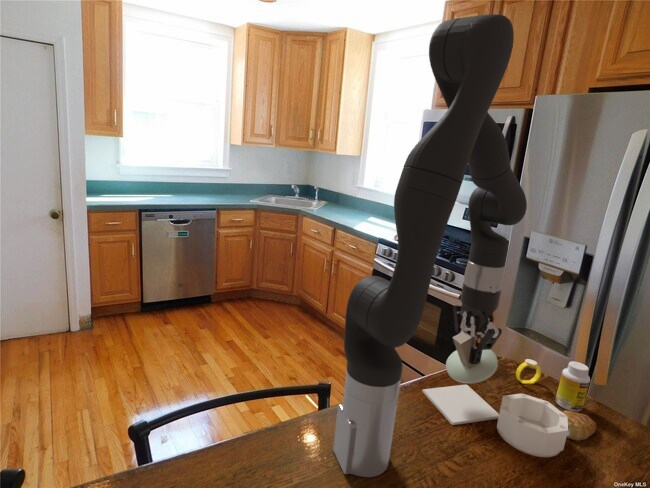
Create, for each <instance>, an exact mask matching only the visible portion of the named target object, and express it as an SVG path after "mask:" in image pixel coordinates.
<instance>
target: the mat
mask: <svg viewBox="0 0 650 488" xmlns="http://www.w3.org/2000/svg"><path fill="white" fill-rule="evenodd" d="M422 393H423V394H424V395H425V396H426V398H427V399H428V400H429V401H430V402H431V404H433V406H434V407H435V408H436V409H437V410H438V411H439V412H440V413H441V414H442V415H443V416H444V417H445V419H446V420H447V422H449V423H450V424H451V426H455V425H463V424H470V423H477V422H483V421H491V420H498V418H499V413H498V412H497V411H496V410H495V409H494V408H493V407H492V406H491V405H490V404H489V403H488V402H486V401H485V400H484V399H483V398H482V397H481V396H480V395H479V394H478V393H477V392H475V391H474V390H473V389H472V388H471V386H469V385H468V384H460V385H459V384H457V385H451V386H443V387H442V386H441V387H432V388H425V389H422Z"/></svg>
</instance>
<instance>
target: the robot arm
mask: <svg viewBox="0 0 650 488" xmlns="http://www.w3.org/2000/svg"><path fill="white" fill-rule="evenodd" d="M514 32H515V31H514V27H513V23H512V22H511V20H510V19H509V17H507V16H506V15H503V14H498V13H497V14H495V13H493V14H490V13H489V14H481V15H473V16H466V17H465V16H464V17H457V18H452V19H448V20H447V19H446V20H443V21H442V22H441V23H439V24H438V25H437V27H435V29H434V31H433V33H431V37H430V40H429V44H428V45H429V46H428V58H429V59H428V60H429V64H430V67H431V72H432V74H433V77H434V80H435V82H436V85H437V86H438V87H437V88H438V89H439V91H440V93H441V96H442V97H443V100H444V102H445V104H446V107H447V110H446V112H445V113H444V114H443V116H442V117H441V118H439V120H438V121H437V122H436V123H435V124H434V125H433V127H431V129H429V130H428V132H426V134H424V136H423V137H422V138H421V139H420V140H418V142H417V143H416V144H415V145H414V147H413V148H412V149H411V150H410V152H409V153H408V154H407V157H406V159H405V163H404V165H403V167H402V171H401V173H400V177H399V179H398V183H397V185H396V189H395V194H394V198H393V199H394V200H393V210H394V222H395V228H396V236H397V255H396V262H395V266H394V269H393V272H392V276H391V280H387V279H386V278H384V277H381V276H377V275H369V276H365V277H364V278H362V279H360V280H359V281H358V282H357V283H356V284H355V286H354V287H353V289H352V290H351V291H350V294H349V296H348V299H347V305H346V309H345V310H346V311H345V323H344V337H343V338H344V343H343V351H344V354H345V359H346V372H345V381H344V389H343V398H342V403H341V404H338V405H337V413H336V421H335V431H334V440H333V449H332V450H333V453H334V456H335V457H336V459H337V461H338V463H339V466H340V467H341V470H342V473H343V474H344V475H349V474H350V475H354V476H357V477H362V478H373V477H377V476H380V475H381V474H383V473H385V471H386V470H387V469H388V466H389V461H390V455H391V448H392V442H393V435H394V427H395V423H396V422H395V421H396V414H397V413H396V412H397V406H398V401H399V395H400V394H399V392H400V388H401V381H402V373H403V360H402V357H401V356H400V354H399V352H398V351H397V350H396V348H400V347H402V346H404V345H406V343H408V342H409V341H410V339H412V337H413V336H414V334H415V333H416V331H417V329H418V327H419V325H420V322H421V320H422V317H423V314H424V310H425V305H426V302H427V299H428V298H427V297H428V293H429V288H430V284H431V280H432V276H433V272H434V268H435V264H436V261H437V257H438V254H439V250H440V248H441V245H442V242H443V238H444V235H445V232H446V228H447V226H448V222H449V220H450V217H451V214H452V213H453V209H454V207H455V204H456V202H457V198H458V196H459V193H460V190H461V187H462V184H463V181H464V177H465V174H466V171H467V167H468V170H469V173H470V178H471V181H472V183H473V184H474V185H475V186H476V188H475V189H474V190H473V191H472V192H471V194H470V196H469V200H468V205H467V206H468V217H469V224H470V237H471V238H470V239H471V240H470V241H471V242H470V243H471V244H470V248H469V255H468V262H467V263H466V267H465V271H464V277H463V282H462V288H461V295H460V302H461V304H456V305H453V307H452V309H453V318H454V319H453V320H454V321H453V322H454V328H455V329H454V330H455V332H456V333H458V334H459V333H461V332H463V331H465V332H467V333H468V334H469V335H471V337H473V339H472V347H471V353H470V358H469V363H471V364H478V363H479V362H480V361H481V355H482V350H492V348H493V346H494V345H495V344H496V342H497V341H498V339H499V338H500V336H501V335H502V333H503V331H502V330H503V329H501V328H499V327H498V328H497V327H496V325H495V324H494V320H495V319H494V312H495V311H497V309H498V308H499V303H500V298H501V295H502V290H503V289H502V288H503V285H504V278H505V266H506V261H507V257H508V256H507V255H508V251H509V240H508V239H507V237H505V236H503V235H502V234H499V233H497V232H495V230H493V228H492V225H491V223H493V224H498V225H499V224H500V225H502V226H514V225H517V224H519V223H520V222H521V221H522V220H524V219H523V218H524V217H525V215H526V212H527V209H528V208H527V206H528V204H527V202H528V201H527V198H526V194H525V192H524V190H523V188H522V185H521V183H520V182H519V180H518V178H517V177H516V175H515V173H514V171H513V170H512V167H511V161H510V160H511V159H510V153H509V148H508V142H507V140H506V137H505V135H504V133H503V131H502V129H501V127H500V126H499V124H498V123H496V121H495V119H494V118H493V117H492V116H491V115H490V114H489V111H490V110H489V109H490V107H491V105H492V103H493V101H494V99H495V96H496V94H497V92H498V91H499V88H500V85H501V83H502V80H503V79H504V76H505V74H506V71H507V68H508V66H509V63H510V60H511V57H512V52H513V48H514V41H515V38H514V37H515V36H514V35H515V34H514ZM460 322H461V323H460ZM479 339H480V341H479Z"/></svg>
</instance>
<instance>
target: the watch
mask: <svg viewBox="0 0 650 488" xmlns="http://www.w3.org/2000/svg"><path fill="white" fill-rule="evenodd" d="M527 367H533V368H536V370H535V371H536V373H535V374H534V376H533V377H532V378H530V379H521V374H522V371H523V370H524V369H525V368H527ZM515 371H516V372H515V377H516V380H517V381H519V382H520V383H521V384H522V385H534V384H536V383H537V382H538V381H539V379H540V378H541V376H542V375H541V374H542V370H541V366H539V365H538V362H537V361H536V360H533V359H530V358H526V359H525V360H524V362H522V363H521V364H519V366H518V367H517V368H516V370H515Z"/></svg>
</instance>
